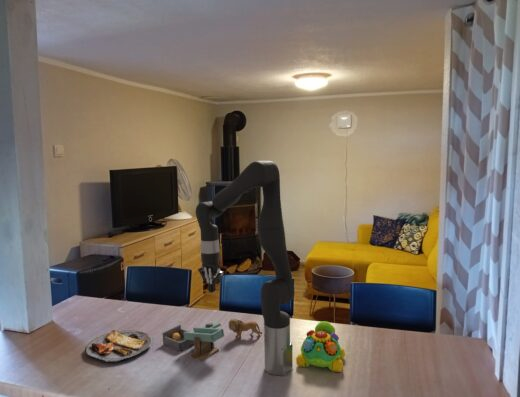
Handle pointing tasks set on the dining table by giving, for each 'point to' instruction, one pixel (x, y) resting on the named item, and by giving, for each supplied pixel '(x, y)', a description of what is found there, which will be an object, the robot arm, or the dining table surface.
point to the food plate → (118, 344)
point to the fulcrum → (203, 349)
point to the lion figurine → (243, 327)
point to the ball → (176, 336)
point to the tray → (174, 344)
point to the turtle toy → (322, 348)
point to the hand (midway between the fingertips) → (211, 291)
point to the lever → (206, 333)
